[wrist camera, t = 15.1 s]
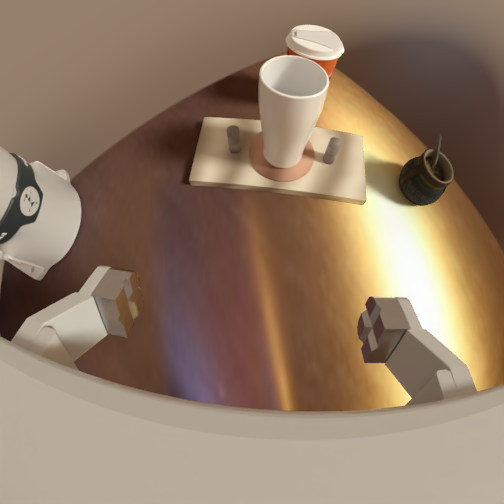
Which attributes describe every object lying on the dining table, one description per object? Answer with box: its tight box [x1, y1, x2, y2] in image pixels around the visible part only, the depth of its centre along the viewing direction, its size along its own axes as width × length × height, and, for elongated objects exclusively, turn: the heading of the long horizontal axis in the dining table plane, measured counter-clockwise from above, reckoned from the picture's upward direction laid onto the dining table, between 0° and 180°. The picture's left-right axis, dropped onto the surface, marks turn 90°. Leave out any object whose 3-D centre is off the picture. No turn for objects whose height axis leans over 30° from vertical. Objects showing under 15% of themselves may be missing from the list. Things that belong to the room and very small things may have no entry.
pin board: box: [189, 117, 366, 205], centre depth 36 cm, size 24×11×6 cm, turn 83°
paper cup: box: [286, 25, 344, 81], centre depth 34 cm, size 8×8×14 cm
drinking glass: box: [258, 55, 329, 168], centre depth 30 cm, size 7×7×15 cm
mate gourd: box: [399, 135, 454, 206], centre depth 33 cm, size 7×8×10 cm
